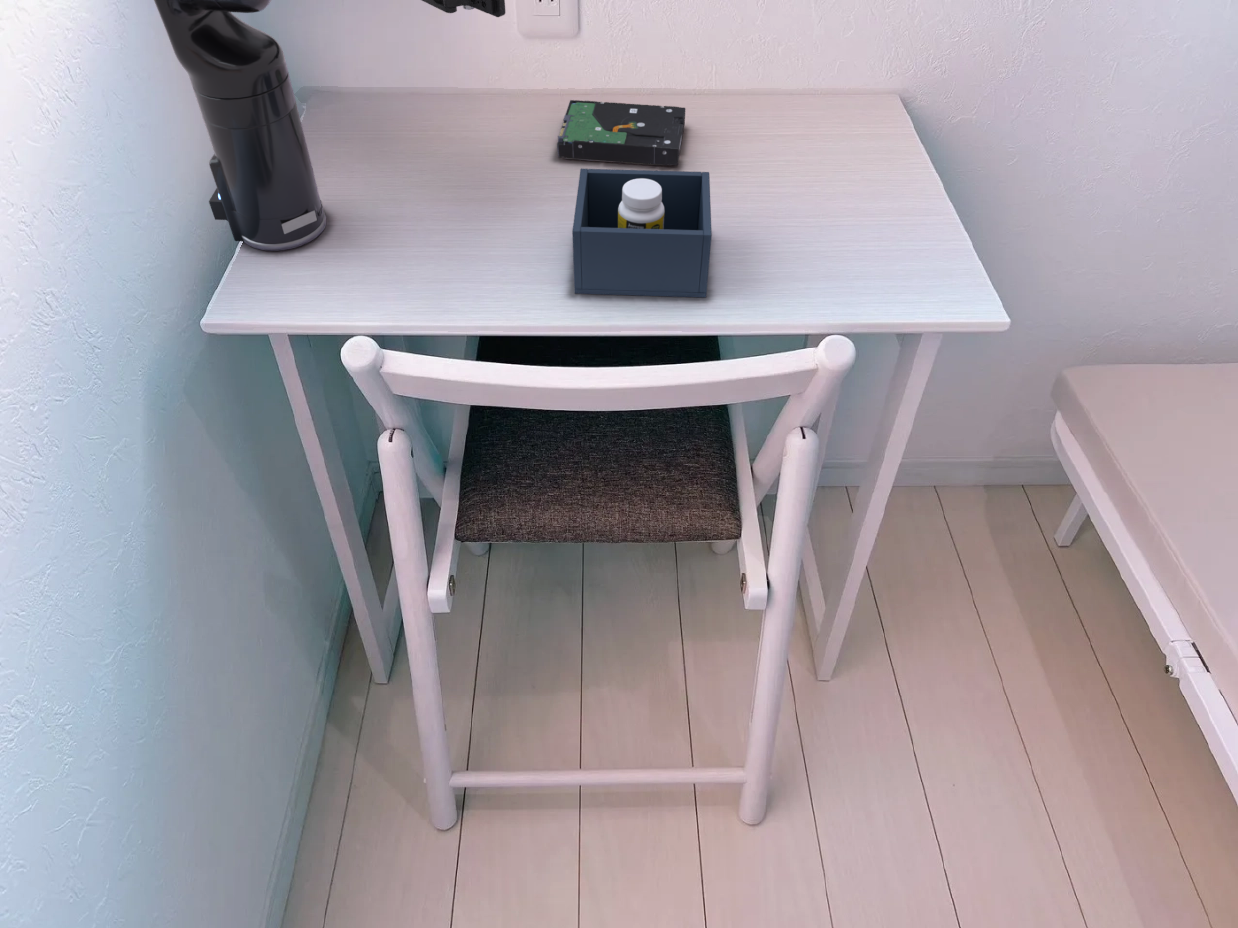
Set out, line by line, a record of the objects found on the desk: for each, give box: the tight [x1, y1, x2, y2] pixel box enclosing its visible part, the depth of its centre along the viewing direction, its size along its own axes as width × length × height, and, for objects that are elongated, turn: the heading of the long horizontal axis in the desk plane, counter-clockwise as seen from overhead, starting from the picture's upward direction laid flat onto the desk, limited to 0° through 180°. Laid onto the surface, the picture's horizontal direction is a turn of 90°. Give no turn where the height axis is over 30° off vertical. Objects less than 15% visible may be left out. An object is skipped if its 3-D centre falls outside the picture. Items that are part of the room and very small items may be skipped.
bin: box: [572, 168, 713, 298], centre depth 102 cm, size 14×12×8 cm
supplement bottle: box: [618, 178, 665, 229], centre depth 101 cm, size 5×5×8 cm
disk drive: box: [556, 99, 686, 166], centre depth 121 cm, size 10×3×15 cm
